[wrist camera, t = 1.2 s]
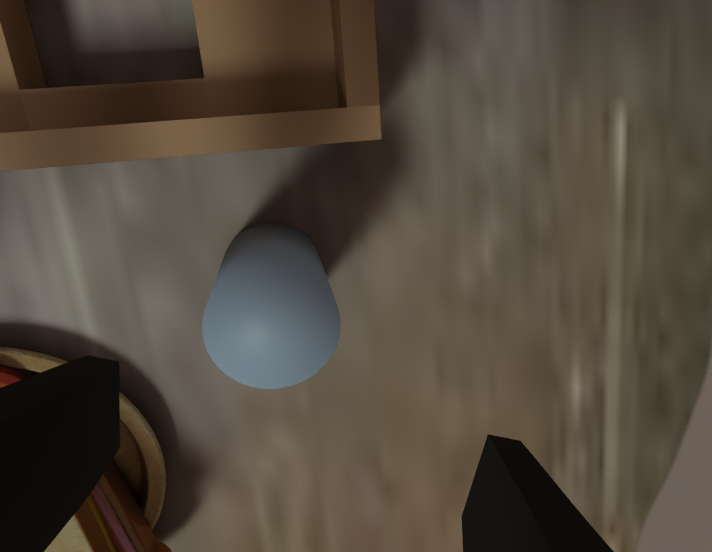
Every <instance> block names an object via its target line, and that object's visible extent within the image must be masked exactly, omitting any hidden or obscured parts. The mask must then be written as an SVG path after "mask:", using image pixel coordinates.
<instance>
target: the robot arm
mask: <svg viewBox="0 0 712 552" xmlns="http://www.w3.org/2000/svg"><path fill="white" fill-rule="evenodd" d="M119 448H120V400H119V362H118V361H113V360H108V359H103V358H98V357H93V356H87V357H83V358H80V359H77V360H74V361H71V362H68V363H65V364H62V365H59V366H57V367H54V368H51V369H48V370H46V371H43V372H40V373H38V374H35V375H33V376H30V377H27V378H25V379H22V380H20V381H17V382H14V383H12V384H9V385H6V386H4V387H1V388H0V552H44V551H45V550H46V549H47V547H48V546H49V545H50V544H51V543H52V541H53V540H54V539H55V538H56V536H57V535H58V534H59V533H60V531H61V530H62V529H63V528H64V527H65V525H66V524H67V523H68V522H69V520H70V519H71V518H72V517H73V515H74V514H75V513H76V512H77V510H78V509H79V508H80V507H81V505H82V504H83V503H84V502H85V500H86V499H87V498H88V496H89V495H90V494H91V492H92V491H93V489H94V488H95V486H96V485H97V483H98V481H99V480H100V478H101V477H102V475H103V474H104V472H105V471H106V469H107V467H108V466H109V464H110V462H111V461H112V459H113V458H114V456H115V454H116V453H117V451H118V449H119ZM462 533H463V552H614V551H613V550H612V549H611V548H610V547H609V546H608V545H607V544H606V542H605V541H604V540H603V539H602V538H601V537H600V536H599V534H598V533H597V532H596V531H595V530H594V529H593V527H592V526H591V525H590V524H589V523H588V522H587V520H586V519H585V518H584V517H583V516H582V515H581V513H580V512H579V511H578V510H577V509H576V507H575V506H574V505H573V504H572V503H571V501H570V500H569V499H568V498H567V497H566V495H565V494H564V493H563V492H562V490H561V489H560V488H559V487H558V486H557V484H556V483H555V482H554V481H553V479H552V478H551V477H550V476H549V475H548V473H547V472H546V471H545V470H544V468H543V467H542V466H541V465H540V464H539V462H538V461H537V460H536V459H535V457H534V456H533V455H532V454H531V453H530V452H529V450H528V449H527V448H526V447H525V446H524V445H523V443H522V442H521V441H518V440H513V439H508V438H503V437H498V436H493V435H488V436H487V439H486V442H485V445H484V448H483V452H482V455H481V458H480V461H479V464H478V467H477V470H476V473H475V477H474V480H473V483H472V486H471V489H470V492H469V495H468V498H467V502H466V505H465V508H464V511H463V514H462Z"/></svg>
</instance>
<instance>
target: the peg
mask: <svg viewBox="0 0 712 552" xmlns="http://www.w3.org/2000/svg"><path fill="white" fill-rule="evenodd" d="M202 333H203V340H204V343H205V347H206V349H207V351H208V354H209V355H210V357H211V359H212V360H213V362H214V363H215V364H216V365H217V367H218V368H219V369H220V370H221V371H223V372H224V373H225V374H226V375H228V376H229V377H230V378H232V379H234V380H236V381H238V382H240V383H242V384H245V385H247V386H251V387H255V388H262V389H277V388H284V387H289V386H292V385H295V384H298V383H300V382H302V381H305V380H306V379H308V378H310V377H311V376H313V375H314V374H315V373H317V372H318V371H319V370H320V369H321V368H322V367H323V366H324V365H325V364H326V363H327V361H328V360H329V359H330V357H331V356H332V354H333V352H334V350H335V348H336V346H337V343H338V339H339V335H340V315H339V310H338V307H337V304H336V301H335V298H334V296H333V293H332V290H331V287H330V285H329V282H328V279H327V276H326V274H325V271H324V268H323V265H322V263H321V260H320V257H319V254H318V252H317V250H316V248H315V246H314V244H313V243H312V241H311V240H310V239H309V238H308V237H307V236H306V235H305V234H304V233H303V232H301V231H300V230H298V229H296V228H294V227H292V226H290V225H287V224H283V223H276V222H266V223H260V224H257V225H254V226H251V227H249V228H247V229H245V230H244V231H242V232H241V233H240V234H239V235H237V236H236V237H235V238H234V240H233V241H232V242H231V244H230V245H229V247H228V249H227V251H226V253H225V256H224V259H223V261H222V264H221V267H220V270H219V272H218V275H217V278H216V281H215V283H214V286H213V289H212V292H211V294H210V297H209V300H208V303H207V306H206V309H205V311H204V316H203V321H202Z"/></svg>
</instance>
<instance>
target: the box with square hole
mask: <svg viewBox="0 0 712 552" xmlns="http://www.w3.org/2000/svg"><path fill="white" fill-rule="evenodd" d="M192 5H193V11H194V17H195V23H196V29H197V35H198V42H199V48H200V54H201V60H202V66H203V73H204V78H199V79H183V80H167V81H151V82H135V83H119V84H103V85H87V86H71V87H55V88H47V87H46V83H45V79H44V75H43V71H42V67H41V64H40V60H39V56H38V52H37V48H36V44H35V41H34V37H33V33H32V29H31V25H30V22H29V18H28V14H27V10H26V6H25V2H24V0H0V171H9V170H21V169H33V168H45V167H57V166H69V165H80V164H92V163H104V162H116V161H128V160H140V159H152V158H164V157H176V156H188V155H200V154H212V153H223V152H235V151H247V150H259V149H271V148H283V147H295V146H307V145H319V144H331V143H343V142H355V141H366V140H378V139H382V137H381V119H380V100H379V82H378V63H377V45H376V26H375V8H374V0H192Z"/></svg>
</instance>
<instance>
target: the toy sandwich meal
mask: <svg viewBox="0 0 712 552" xmlns="http://www.w3.org/2000/svg"><path fill="white" fill-rule="evenodd" d="M65 363H68V361H65V360H62V359H59V358H56V357H54V356H50V355H46V354H43V353H39V352H34V351H29V350H23V349H17V348H8V347H0V388H1V387H4V386H6V385H9V384H12V383H14V382H17V381H20V380H22V379H25V378H27V377H30V376H33V375H35V374H38V373H40V372H43V371H46V370H48V369H51V368H54V367H57V366H59V365H62V364H65ZM119 400H120V448H119V449H118V451H117V453H116V454H115V456H114V458H113V459H112V461H111V462H110V464H109V466H108V467H107V469H106V471H105V472H104V474H103V475H102V477H101V478H100V480H99V481H98V483H97V485H96V486H95V488H94V489H93V491H92V492H91V494H90V495H89V496H88V498H87V499H86V500H85V502H84V503H83V504H82V505H81V507H80V508H79V509H78V510H77V512H76V513H75V514H74V515H73V517H72V518H71V519H70V520H69V522H68V523H67V524H66V525H65V527H64V528H63V529H62V530H61V531H60V533H59V534H58V535H57V536H56V538H55V539H54V540H53V541H52V543H51V544H50V545H49V546H48V547H47V549H46V550H45V551H44V552H172V551H171V550H170V548H169V547H168V546H167V545H165V544H164V543H162V542H160V541H159V540H158V539H157V538H156V537H155V536H154V534H153V533H152V529H153V527H154V526H155V524H156V523H157V520H158V518H159V515H160V513H161V510H162V507H163V502H164V498H165V491H166V470H165V463H164V458H163V454H162V451H161V448H160V445H159V442H158V440H157V438H156V436H155V434H154V432H153V430H152V428H151V427H150V425H149V423H148V422H147V420H146V419H145V418H144V416H143V415H142V414H141V413H140V411H139V410H138V409H137V408H136V407H135V406H134V405H133V403H132V402H131V401H130V400H129V399H128V398H127V397H125V396H124V395H123V394H122V393H121V392H120V391H119Z"/></svg>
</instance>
